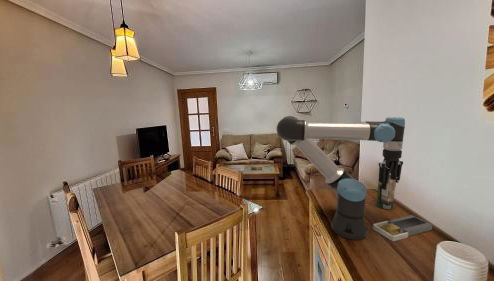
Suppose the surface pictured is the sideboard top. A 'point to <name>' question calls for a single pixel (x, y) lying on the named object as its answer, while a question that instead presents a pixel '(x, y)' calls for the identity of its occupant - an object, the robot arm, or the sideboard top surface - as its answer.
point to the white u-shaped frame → (387, 235)
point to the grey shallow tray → (411, 225)
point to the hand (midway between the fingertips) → (387, 194)
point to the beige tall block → (389, 193)
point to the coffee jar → (379, 196)
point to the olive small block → (395, 228)
